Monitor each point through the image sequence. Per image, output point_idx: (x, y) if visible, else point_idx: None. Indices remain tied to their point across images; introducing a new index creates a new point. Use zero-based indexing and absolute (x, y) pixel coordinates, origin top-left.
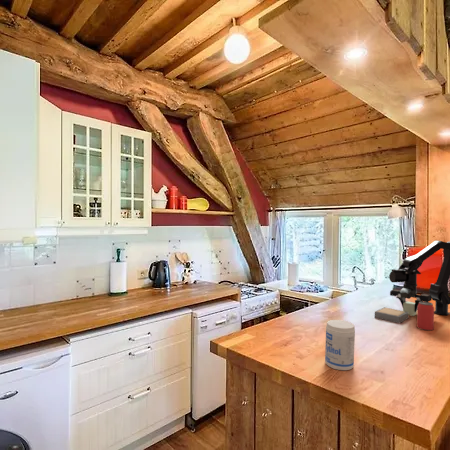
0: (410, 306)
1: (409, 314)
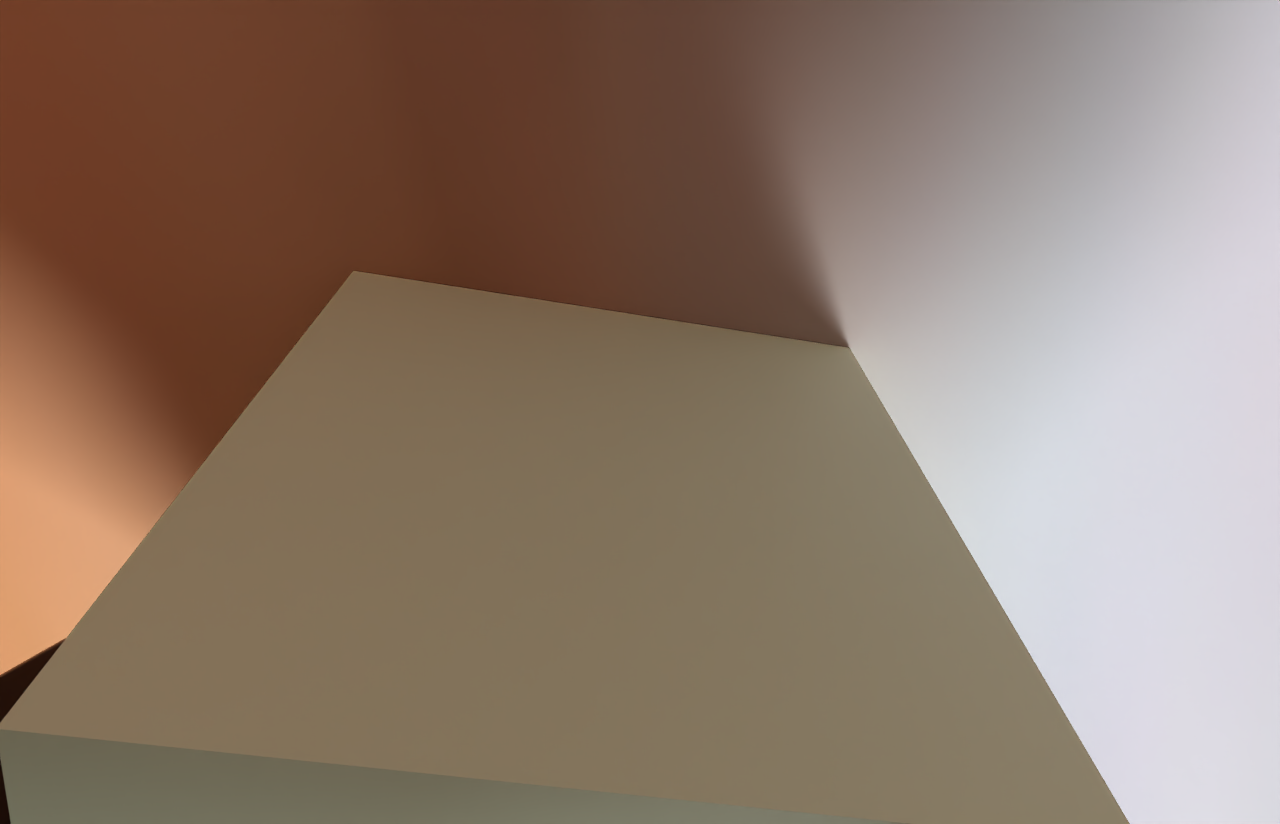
0: (406, 593)
1: (536, 314)
